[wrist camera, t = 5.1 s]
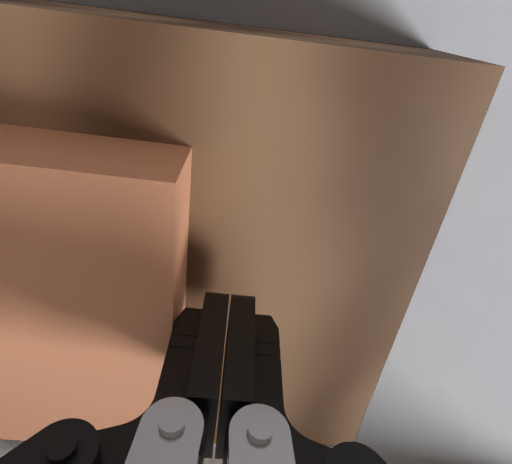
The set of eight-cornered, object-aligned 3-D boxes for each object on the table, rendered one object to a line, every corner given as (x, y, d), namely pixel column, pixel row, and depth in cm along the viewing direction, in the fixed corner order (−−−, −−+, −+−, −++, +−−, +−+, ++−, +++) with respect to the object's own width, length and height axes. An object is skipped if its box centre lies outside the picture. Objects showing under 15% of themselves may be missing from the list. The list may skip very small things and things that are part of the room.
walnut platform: (432, 49, 13) (505, 66, 9) (333, 366, 21) (351, 446, 17) (-50, -12, 12) (-189, -21, 8) (36, 343, 20) (-15, 423, 16)
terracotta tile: (191, 146, 10) (175, 183, 8) (181, 388, 15) (169, 451, 13) (-80, 113, 10) (-173, 143, 8) (0, 374, 15) (-43, 436, 13)
